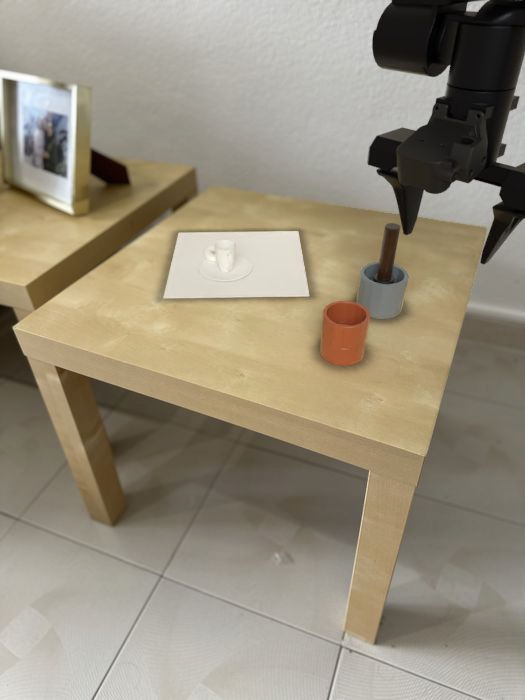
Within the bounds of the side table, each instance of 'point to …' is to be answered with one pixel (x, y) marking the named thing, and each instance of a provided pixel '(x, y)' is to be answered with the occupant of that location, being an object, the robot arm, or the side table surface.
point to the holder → (344, 332)
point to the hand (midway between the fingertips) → (444, 247)
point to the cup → (382, 292)
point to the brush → (387, 254)
